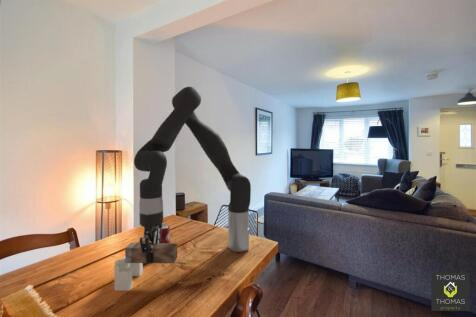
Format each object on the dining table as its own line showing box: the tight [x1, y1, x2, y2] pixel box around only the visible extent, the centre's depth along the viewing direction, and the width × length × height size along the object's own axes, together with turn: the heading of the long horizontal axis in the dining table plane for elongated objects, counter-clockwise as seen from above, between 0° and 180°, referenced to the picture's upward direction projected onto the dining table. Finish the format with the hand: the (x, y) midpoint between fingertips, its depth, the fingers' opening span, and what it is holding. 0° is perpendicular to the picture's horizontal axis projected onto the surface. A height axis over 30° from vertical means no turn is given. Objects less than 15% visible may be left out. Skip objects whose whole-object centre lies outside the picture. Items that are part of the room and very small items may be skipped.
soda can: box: [159, 223, 171, 243], centre depth 98 cm, size 7×7×12 cm
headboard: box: [113, 255, 144, 292], centre depth 78 cm, size 5×10×10 cm, turn 0°
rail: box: [124, 242, 178, 264], centre depth 78 cm, size 16×4×5 cm, turn 89°
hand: (152, 259), depth 78 cm, fingers closed on rail, 4 cm apart
